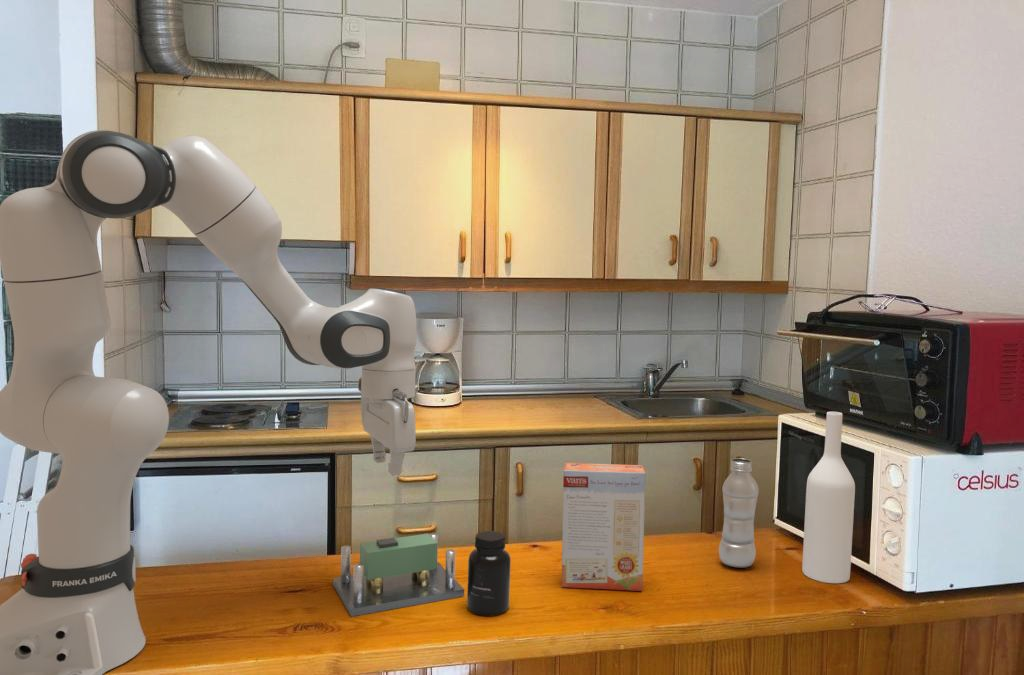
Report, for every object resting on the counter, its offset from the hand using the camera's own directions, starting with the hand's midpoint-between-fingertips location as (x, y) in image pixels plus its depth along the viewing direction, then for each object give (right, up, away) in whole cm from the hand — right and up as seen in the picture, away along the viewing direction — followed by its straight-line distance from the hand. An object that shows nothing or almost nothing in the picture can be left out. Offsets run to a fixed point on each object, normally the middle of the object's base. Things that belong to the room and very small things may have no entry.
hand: (386, 468), depth 126 cm
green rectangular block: (+2, -17, +1) cm, 17 cm away
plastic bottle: (+63, -21, +15) cm, 68 cm away
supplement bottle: (+17, -22, -4) cm, 28 cm away
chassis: (+2, -21, +1) cm, 21 cm away
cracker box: (+37, -22, +6) cm, 43 cm away
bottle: (+78, -22, +11) cm, 82 cm away
